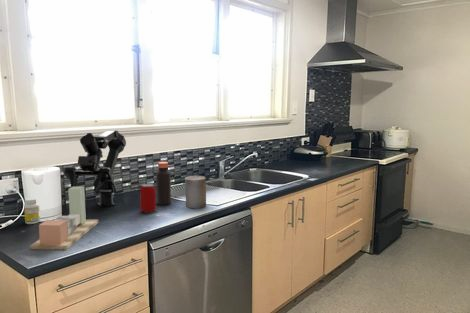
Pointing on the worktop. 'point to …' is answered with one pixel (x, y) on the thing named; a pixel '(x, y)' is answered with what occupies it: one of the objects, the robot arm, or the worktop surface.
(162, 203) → the vinegar
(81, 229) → the base board
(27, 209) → the supplement bottle
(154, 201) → the beverage can
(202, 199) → the pillar candle
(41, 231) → the socket block
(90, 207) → the worktop surface
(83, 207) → the pale green slab
